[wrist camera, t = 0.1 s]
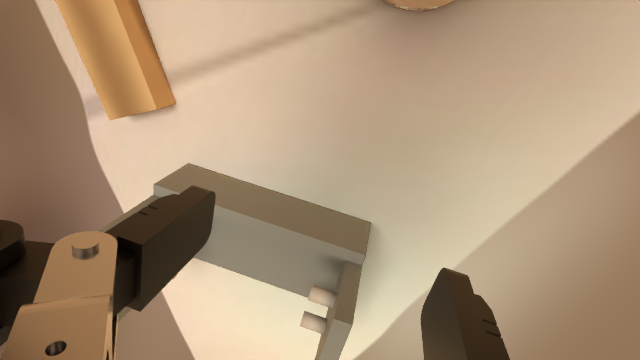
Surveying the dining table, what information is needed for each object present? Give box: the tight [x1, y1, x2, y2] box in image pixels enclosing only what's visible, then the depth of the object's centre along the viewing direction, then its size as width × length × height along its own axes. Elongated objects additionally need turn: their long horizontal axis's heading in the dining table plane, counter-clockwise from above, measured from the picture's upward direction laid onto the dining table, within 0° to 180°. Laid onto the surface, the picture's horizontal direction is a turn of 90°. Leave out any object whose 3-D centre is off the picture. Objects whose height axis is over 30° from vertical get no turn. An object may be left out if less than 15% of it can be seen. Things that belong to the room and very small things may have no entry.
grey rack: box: [97, 163, 371, 360], centre depth 28 cm, size 10×18×11 cm, turn 77°
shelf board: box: [55, 0, 176, 120], centre depth 27 cm, size 5×14×3 cm, turn 14°
